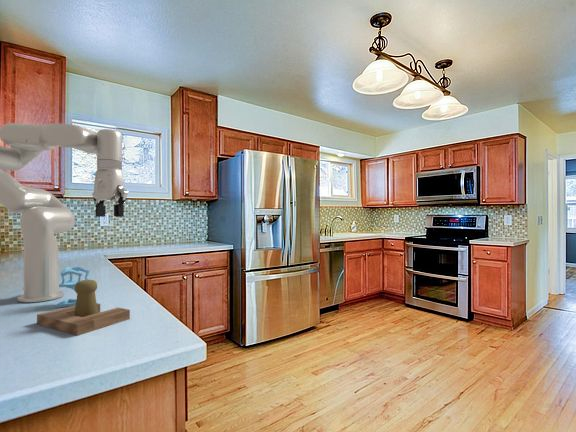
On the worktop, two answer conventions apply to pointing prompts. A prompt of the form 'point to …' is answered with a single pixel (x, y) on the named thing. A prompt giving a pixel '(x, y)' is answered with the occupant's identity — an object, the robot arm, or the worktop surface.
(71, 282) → the chair
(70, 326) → the notched board
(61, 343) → the worktop surface
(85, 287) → the cork
